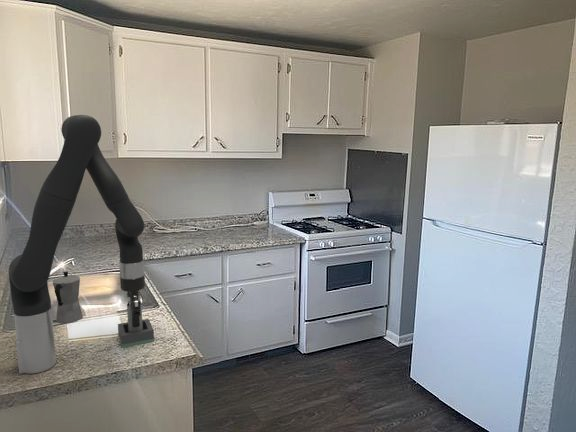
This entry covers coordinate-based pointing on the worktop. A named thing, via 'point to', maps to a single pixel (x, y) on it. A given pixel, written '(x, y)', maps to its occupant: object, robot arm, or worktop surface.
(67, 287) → the coffeepot
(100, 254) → the worktop surface
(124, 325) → the socket board
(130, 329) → the dark grey cylinder
